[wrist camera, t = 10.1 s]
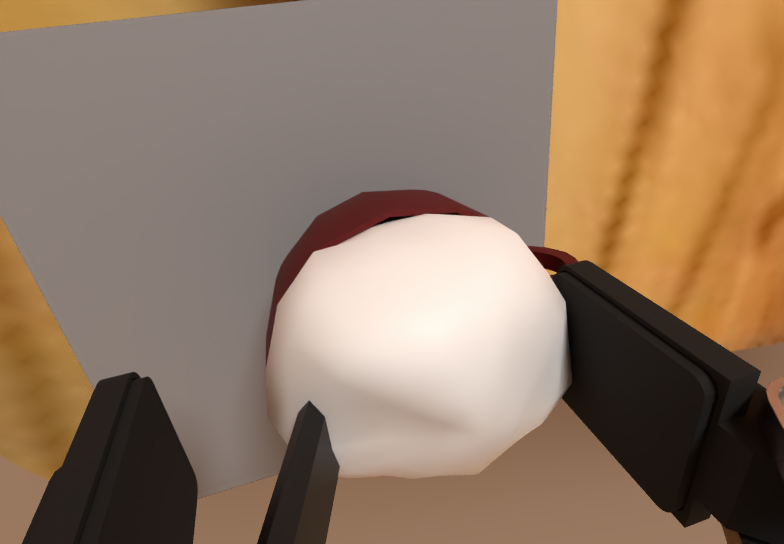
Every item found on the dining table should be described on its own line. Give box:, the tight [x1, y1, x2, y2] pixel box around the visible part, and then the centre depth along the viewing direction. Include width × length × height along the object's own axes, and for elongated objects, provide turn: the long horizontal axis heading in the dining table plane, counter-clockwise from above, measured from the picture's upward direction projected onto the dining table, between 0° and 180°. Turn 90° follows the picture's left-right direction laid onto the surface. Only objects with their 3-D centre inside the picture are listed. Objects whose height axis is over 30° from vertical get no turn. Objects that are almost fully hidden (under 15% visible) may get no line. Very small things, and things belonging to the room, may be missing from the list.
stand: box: [0, 0, 557, 499], centre depth 16 cm, size 14×14×5 cm
